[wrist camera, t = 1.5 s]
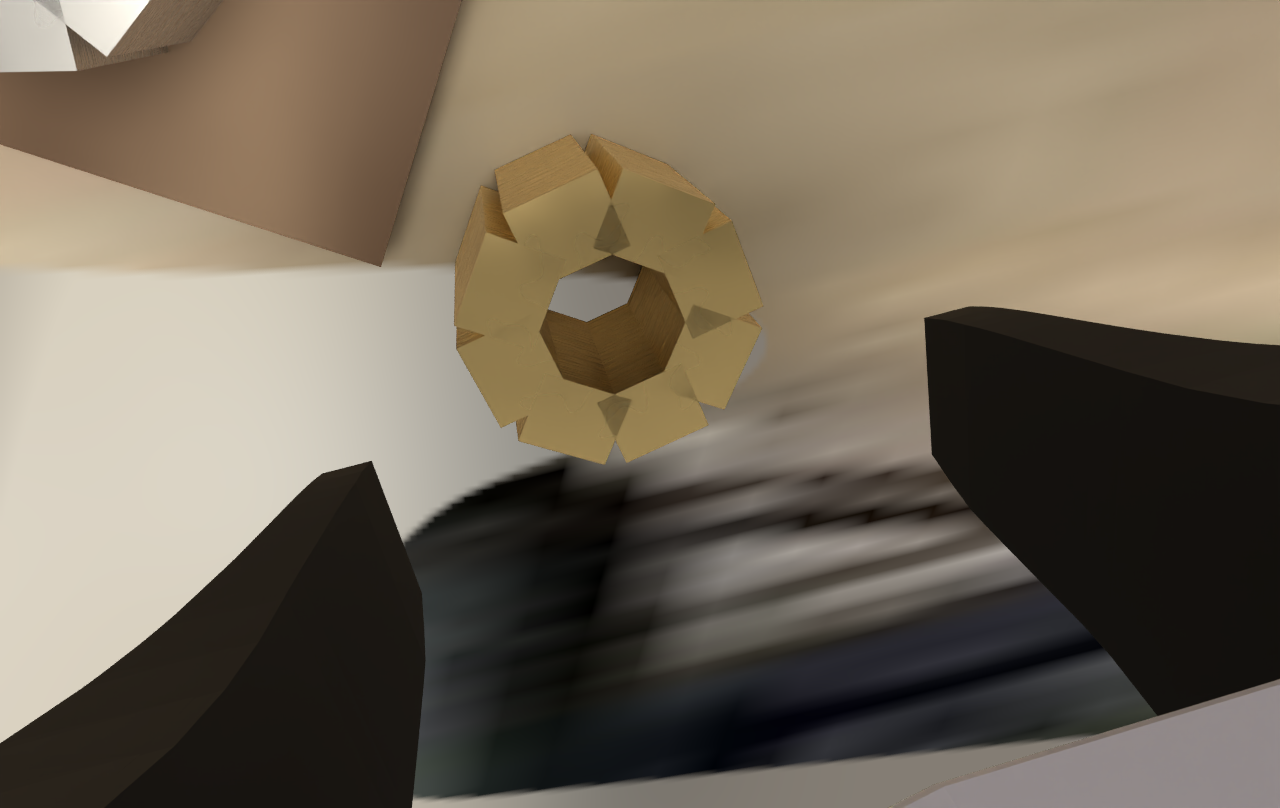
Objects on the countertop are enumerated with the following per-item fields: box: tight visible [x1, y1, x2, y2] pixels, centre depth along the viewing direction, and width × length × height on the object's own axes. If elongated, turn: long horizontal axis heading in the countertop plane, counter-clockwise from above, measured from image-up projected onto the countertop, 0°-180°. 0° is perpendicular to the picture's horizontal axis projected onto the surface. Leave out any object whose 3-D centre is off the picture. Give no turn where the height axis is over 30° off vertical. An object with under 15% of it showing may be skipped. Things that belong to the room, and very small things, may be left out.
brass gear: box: [454, 134, 763, 465], centre depth 18 cm, size 5×5×4 cm
